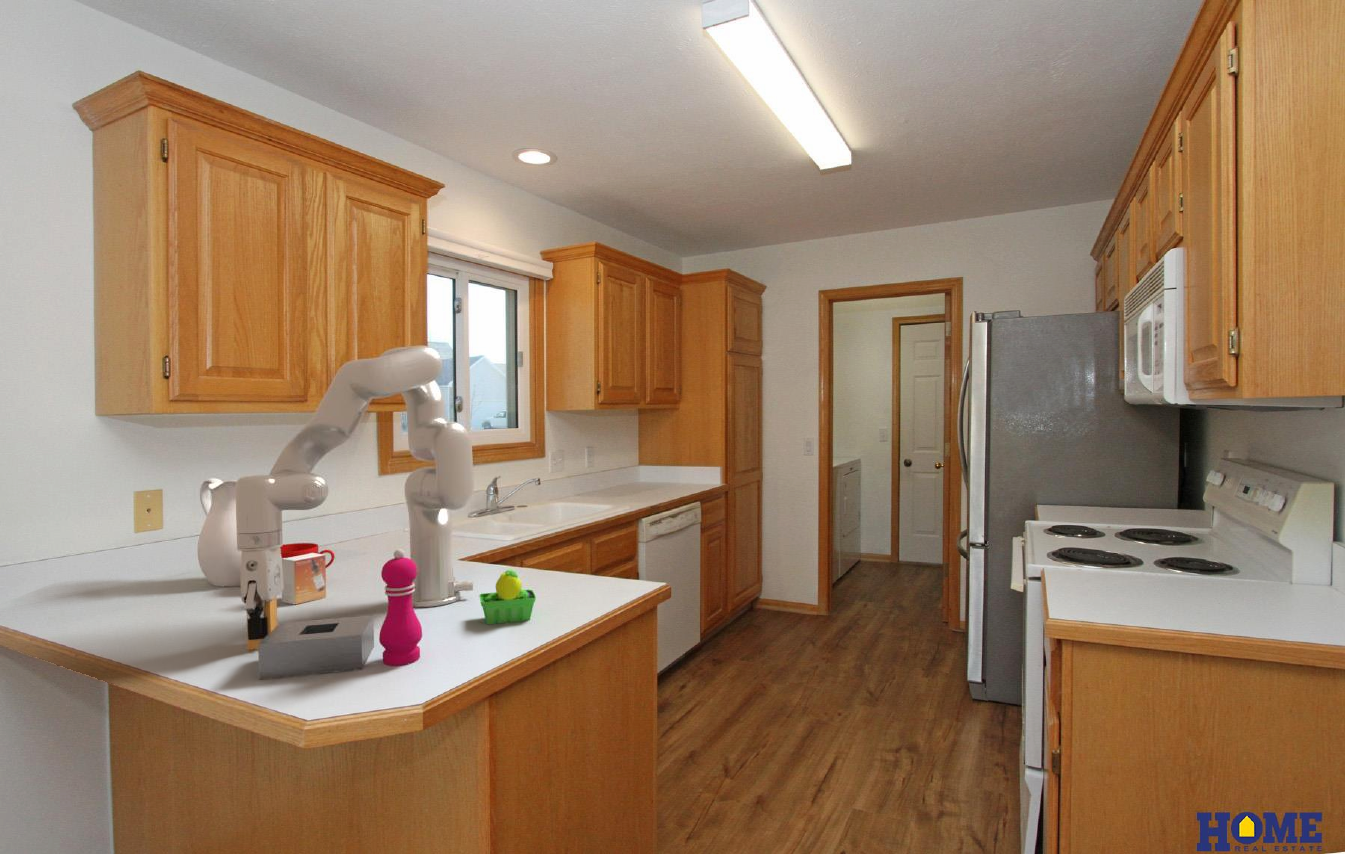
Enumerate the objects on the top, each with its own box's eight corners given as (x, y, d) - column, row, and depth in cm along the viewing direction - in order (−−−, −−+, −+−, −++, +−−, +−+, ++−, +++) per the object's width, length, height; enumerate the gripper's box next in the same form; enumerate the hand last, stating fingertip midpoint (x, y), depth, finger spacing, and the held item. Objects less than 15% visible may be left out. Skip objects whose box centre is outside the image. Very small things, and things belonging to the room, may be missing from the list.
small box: (294, 605, 160) (293, 560, 159) (281, 602, 163) (280, 558, 162) (327, 597, 166) (326, 554, 166) (314, 594, 169) (313, 552, 169)
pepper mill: (387, 653, 127) (384, 545, 126) (427, 651, 127) (425, 544, 127) (373, 668, 119) (371, 553, 119) (416, 666, 120) (413, 552, 119)
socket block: (374, 646, 130) (373, 615, 130) (362, 669, 119) (361, 634, 119) (280, 655, 126) (279, 623, 126) (259, 679, 115) (258, 644, 115)
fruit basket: (532, 611, 152) (531, 560, 152) (537, 622, 144) (536, 569, 144) (479, 616, 149) (478, 565, 149) (481, 629, 140) (480, 574, 140)
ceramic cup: (328, 589, 174) (327, 550, 174) (254, 594, 171) (253, 554, 170) (340, 577, 187) (340, 540, 187) (272, 581, 183) (271, 544, 183)
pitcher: (285, 578, 186) (283, 476, 186) (218, 593, 172) (214, 482, 171) (241, 569, 199) (238, 473, 198) (174, 581, 185) (171, 478, 184)
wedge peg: (277, 641, 134) (276, 585, 134) (271, 648, 130) (269, 590, 130) (254, 643, 133) (253, 587, 133) (247, 650, 129) (246, 592, 129)
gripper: (267, 547, 124) (270, 647, 125) (294, 531, 141) (296, 620, 141) (220, 549, 122) (223, 651, 123) (253, 533, 139) (255, 623, 139)
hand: (262, 633), depth 132 cm, fingers open, 4 cm apart
